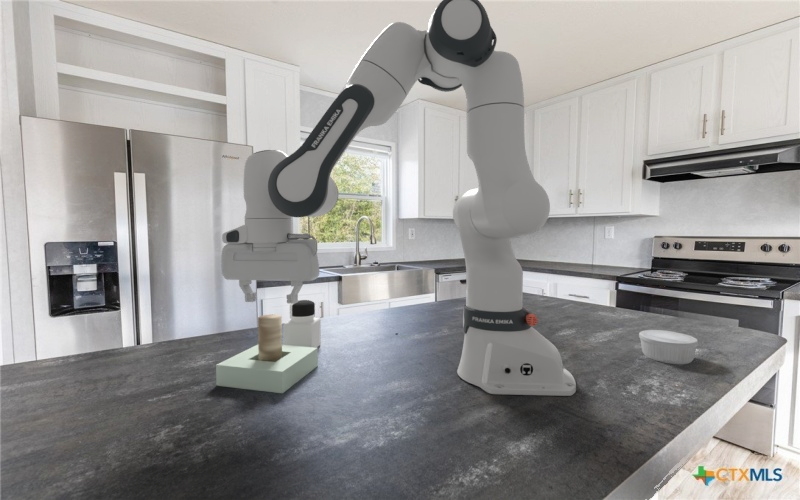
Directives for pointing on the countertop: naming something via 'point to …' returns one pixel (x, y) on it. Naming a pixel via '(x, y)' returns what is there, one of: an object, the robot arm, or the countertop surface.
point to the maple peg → (270, 337)
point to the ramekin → (668, 346)
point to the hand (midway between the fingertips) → (271, 302)
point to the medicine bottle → (302, 326)
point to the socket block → (267, 369)
